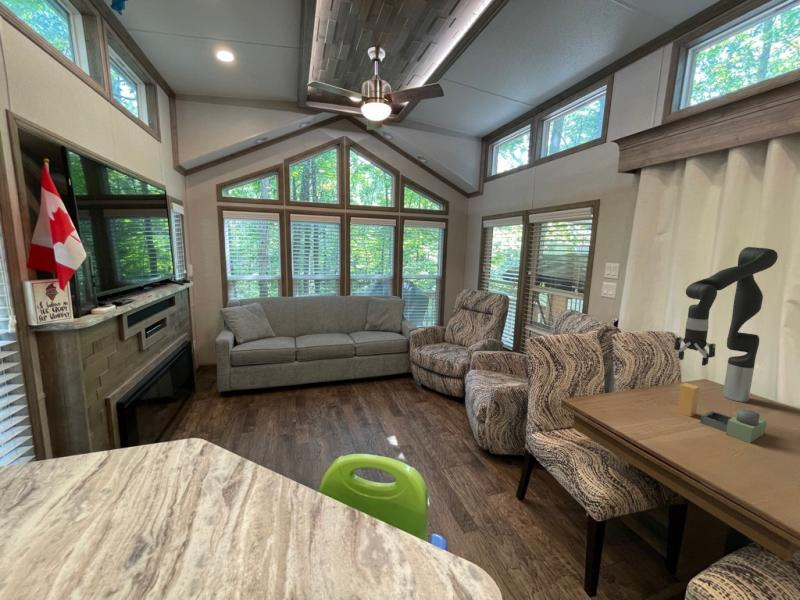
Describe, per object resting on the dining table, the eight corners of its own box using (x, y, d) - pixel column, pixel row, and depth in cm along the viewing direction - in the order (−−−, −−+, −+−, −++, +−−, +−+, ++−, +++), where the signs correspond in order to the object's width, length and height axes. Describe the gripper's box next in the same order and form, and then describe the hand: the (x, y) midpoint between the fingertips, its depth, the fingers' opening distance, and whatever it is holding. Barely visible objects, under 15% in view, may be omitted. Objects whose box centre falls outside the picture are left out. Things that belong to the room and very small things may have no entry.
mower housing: (739, 425, 141) (743, 403, 139) (764, 433, 134) (768, 410, 133) (725, 433, 134) (728, 410, 133) (749, 443, 128) (754, 418, 126)
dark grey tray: (711, 417, 147) (712, 411, 147) (738, 426, 140) (739, 420, 139) (700, 422, 143) (701, 416, 142) (728, 432, 135) (729, 425, 135)
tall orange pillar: (682, 409, 155) (686, 382, 153) (695, 414, 150) (699, 386, 148) (676, 411, 152) (680, 384, 150) (690, 416, 148) (694, 388, 146)
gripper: (673, 325, 156) (670, 359, 158) (712, 332, 143) (707, 368, 146) (682, 324, 159) (678, 356, 161) (721, 330, 146) (716, 365, 149)
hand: (692, 362), depth 154 cm, fingers open, 8 cm apart
